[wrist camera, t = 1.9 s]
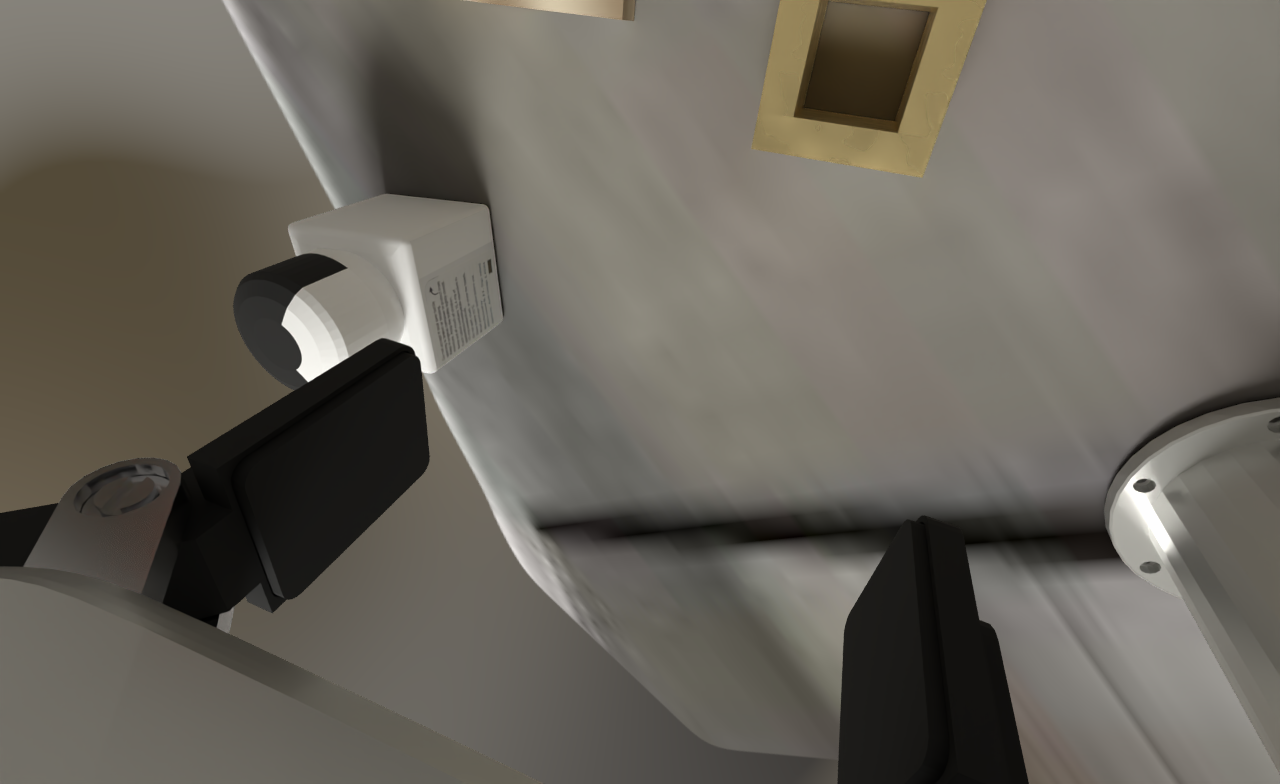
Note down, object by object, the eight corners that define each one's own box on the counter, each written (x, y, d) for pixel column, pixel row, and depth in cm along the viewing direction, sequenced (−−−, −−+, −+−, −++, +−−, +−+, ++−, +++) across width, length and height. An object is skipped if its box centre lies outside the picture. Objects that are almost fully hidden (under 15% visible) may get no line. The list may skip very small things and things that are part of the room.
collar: (982, -29, 22) (1001, -41, 18) (916, 160, 25) (922, 177, 22) (803, -44, 23) (791, -58, 20) (766, 135, 27) (751, 148, 24)
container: (409, 305, 40) (245, 398, 29) (384, 191, 36) (182, 253, 25) (505, 321, 38) (365, 429, 27) (491, 203, 34) (318, 276, 23)
